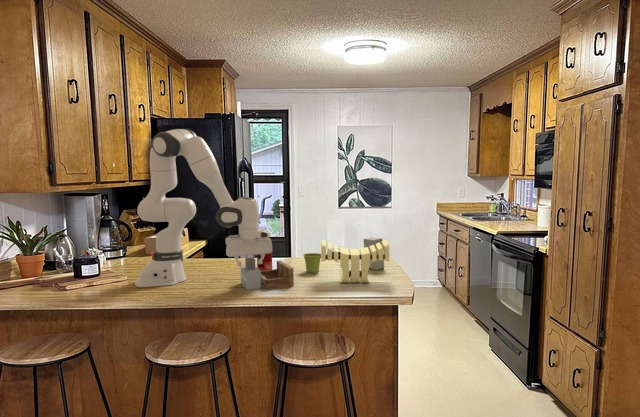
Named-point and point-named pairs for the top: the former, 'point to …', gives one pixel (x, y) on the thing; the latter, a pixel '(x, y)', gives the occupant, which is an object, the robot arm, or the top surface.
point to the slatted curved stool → (355, 260)
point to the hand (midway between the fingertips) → (249, 264)
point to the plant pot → (312, 262)
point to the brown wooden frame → (278, 276)
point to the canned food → (265, 262)
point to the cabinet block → (250, 275)
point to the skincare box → (373, 241)
